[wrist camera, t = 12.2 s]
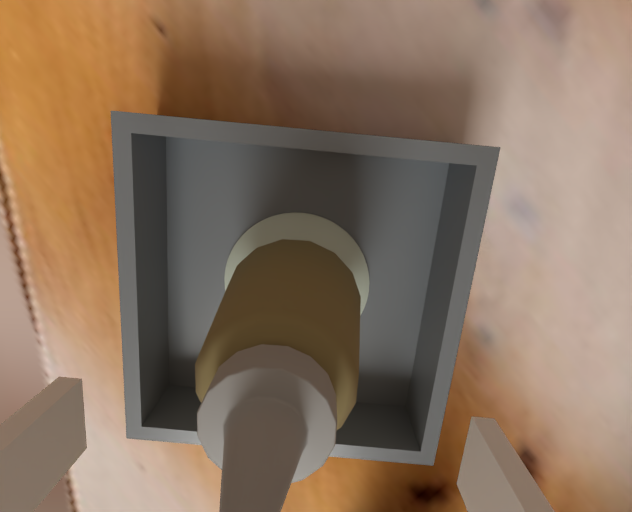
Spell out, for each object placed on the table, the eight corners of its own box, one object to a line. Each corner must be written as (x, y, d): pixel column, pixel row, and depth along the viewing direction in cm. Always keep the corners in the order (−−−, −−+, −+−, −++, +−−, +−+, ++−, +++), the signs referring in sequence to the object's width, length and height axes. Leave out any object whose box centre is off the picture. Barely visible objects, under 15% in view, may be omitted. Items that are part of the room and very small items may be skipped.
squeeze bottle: (216, 263, 26) (-6, 486, 9) (318, 204, 25) (303, 322, 7) (278, 356, 28) (199, 699, 10) (376, 305, 26) (476, 594, 9)
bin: (414, 410, 30) (433, 465, 25) (161, 387, 30) (126, 438, 25) (462, 148, 25) (500, 147, 20) (156, 119, 25) (110, 110, 19)
